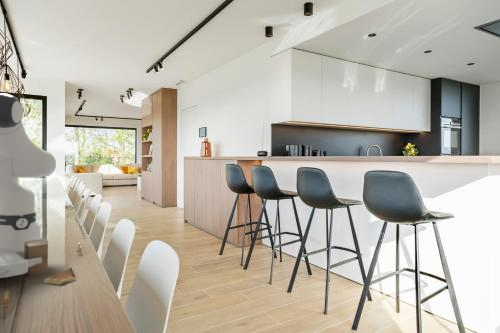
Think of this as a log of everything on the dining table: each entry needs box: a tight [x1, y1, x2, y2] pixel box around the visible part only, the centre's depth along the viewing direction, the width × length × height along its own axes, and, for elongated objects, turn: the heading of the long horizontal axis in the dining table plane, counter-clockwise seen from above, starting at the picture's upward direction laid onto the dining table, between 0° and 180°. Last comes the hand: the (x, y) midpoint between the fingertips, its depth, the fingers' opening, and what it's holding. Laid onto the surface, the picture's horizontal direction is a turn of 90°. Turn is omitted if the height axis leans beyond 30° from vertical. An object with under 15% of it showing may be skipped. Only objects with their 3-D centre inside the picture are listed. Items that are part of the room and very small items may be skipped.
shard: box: [43, 267, 76, 286], centre depth 98 cm, size 11×8×2 cm
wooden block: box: [23, 237, 49, 277], centre depth 102 cm, size 5×5×10 cm
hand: (36, 256), depth 102 cm, fingers open, 8 cm apart
